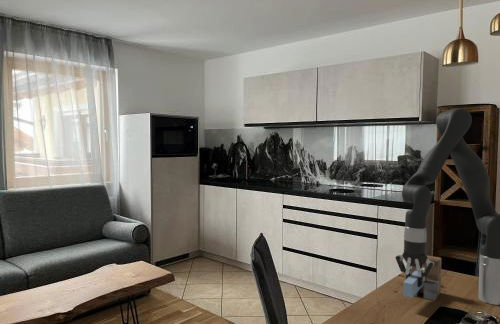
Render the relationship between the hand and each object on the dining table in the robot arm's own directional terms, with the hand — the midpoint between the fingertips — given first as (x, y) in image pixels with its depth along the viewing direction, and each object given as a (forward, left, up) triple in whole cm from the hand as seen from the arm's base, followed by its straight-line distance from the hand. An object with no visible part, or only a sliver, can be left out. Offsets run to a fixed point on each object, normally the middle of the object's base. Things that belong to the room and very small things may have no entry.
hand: (414, 285), depth 142 cm
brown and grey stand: (0, -13, -7) cm, 15 cm away
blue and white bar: (0, -2, -2) cm, 3 cm away
